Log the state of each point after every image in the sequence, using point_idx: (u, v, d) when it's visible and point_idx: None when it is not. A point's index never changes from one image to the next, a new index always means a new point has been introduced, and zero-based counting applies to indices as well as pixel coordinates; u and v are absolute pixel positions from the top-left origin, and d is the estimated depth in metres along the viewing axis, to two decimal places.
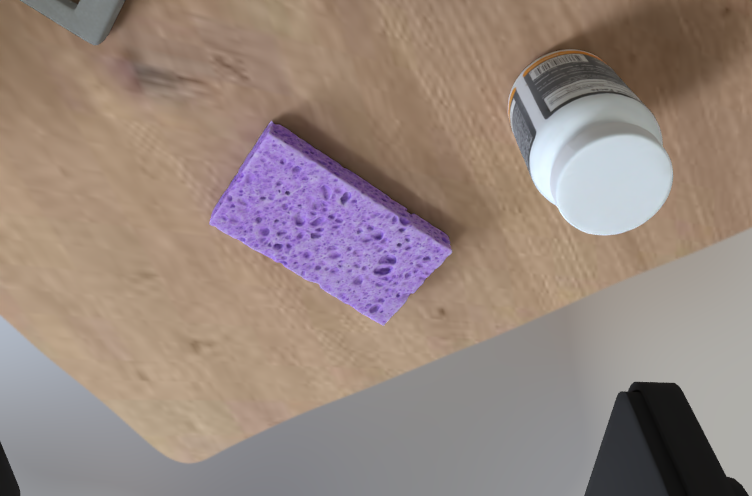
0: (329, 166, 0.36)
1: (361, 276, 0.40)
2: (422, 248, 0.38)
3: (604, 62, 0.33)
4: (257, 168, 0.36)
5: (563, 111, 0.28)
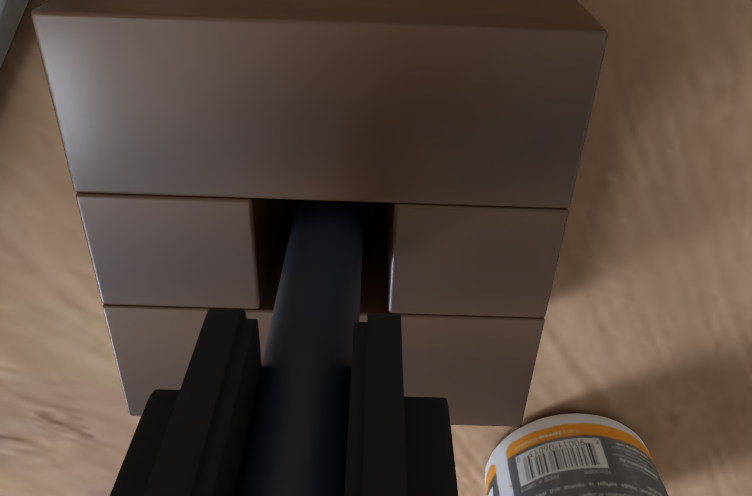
0: None
1: None
2: None
3: (632, 444, 0.21)
4: None
5: None
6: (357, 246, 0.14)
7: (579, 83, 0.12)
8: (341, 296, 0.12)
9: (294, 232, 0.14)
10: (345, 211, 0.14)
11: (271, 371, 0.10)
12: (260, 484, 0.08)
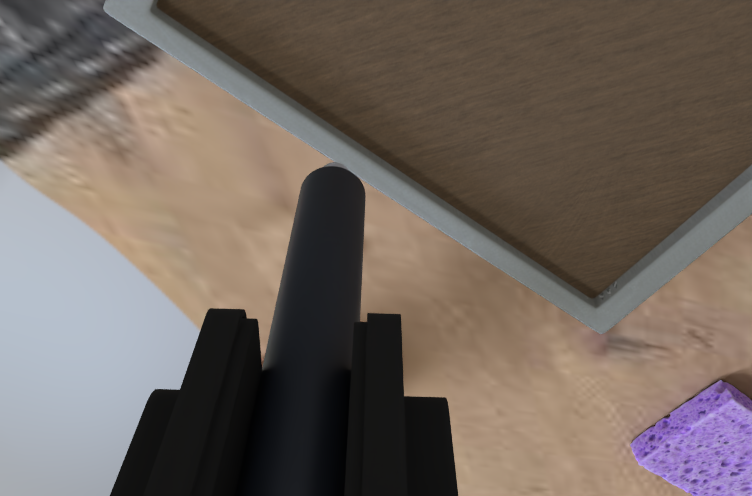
0: None
1: None
2: None
3: None
4: (707, 424, 0.38)
5: None
6: (357, 249, 0.14)
7: None
8: (342, 300, 0.12)
9: (295, 235, 0.14)
10: (345, 213, 0.14)
11: (272, 375, 0.10)
12: (261, 488, 0.08)
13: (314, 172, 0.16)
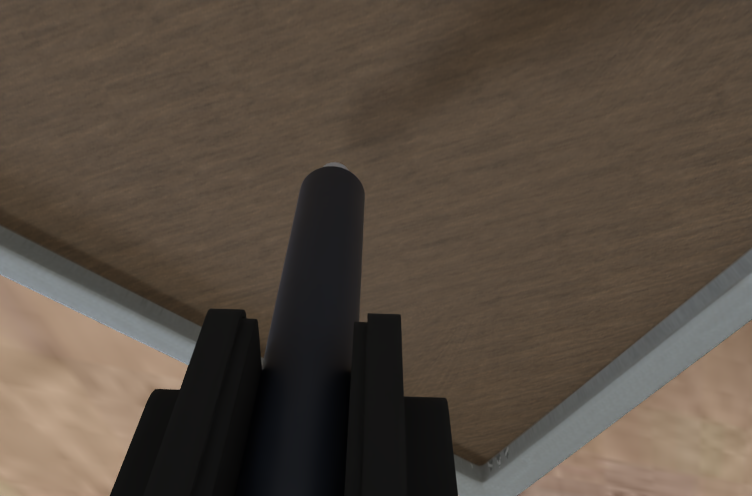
0: None
1: None
2: None
3: None
4: None
5: None
6: (357, 249, 0.14)
7: None
8: (341, 300, 0.12)
9: (294, 235, 0.14)
10: (345, 214, 0.14)
11: (271, 374, 0.10)
12: (260, 487, 0.08)
13: (314, 172, 0.16)
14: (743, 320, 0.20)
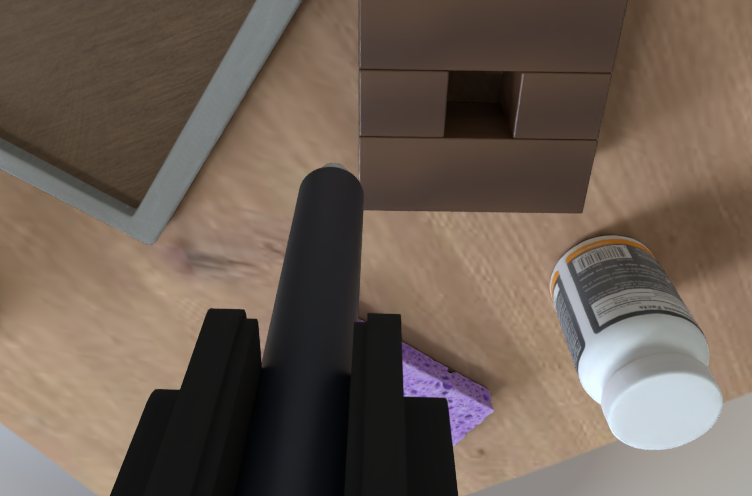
0: None
1: None
2: (464, 408, 0.39)
3: (646, 250, 0.33)
4: None
5: (613, 330, 0.29)
6: (356, 249, 0.14)
7: (618, 4, 0.24)
8: (340, 300, 0.12)
9: (293, 235, 0.14)
10: (344, 214, 0.14)
11: (270, 375, 0.10)
12: (258, 488, 0.08)
13: (313, 172, 0.16)
14: (262, 52, 0.28)
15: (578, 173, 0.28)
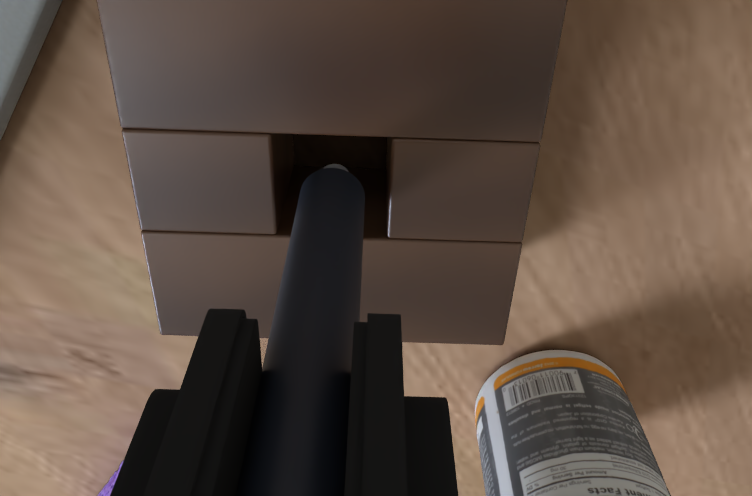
0: None
1: None
2: None
3: (607, 375, 0.23)
4: None
5: None
6: (357, 250, 0.14)
7: (546, 31, 0.14)
8: (342, 301, 0.12)
9: (294, 236, 0.14)
10: (345, 215, 0.14)
11: (272, 376, 0.10)
12: (260, 490, 0.08)
13: (314, 174, 0.16)
14: None
15: (493, 290, 0.18)
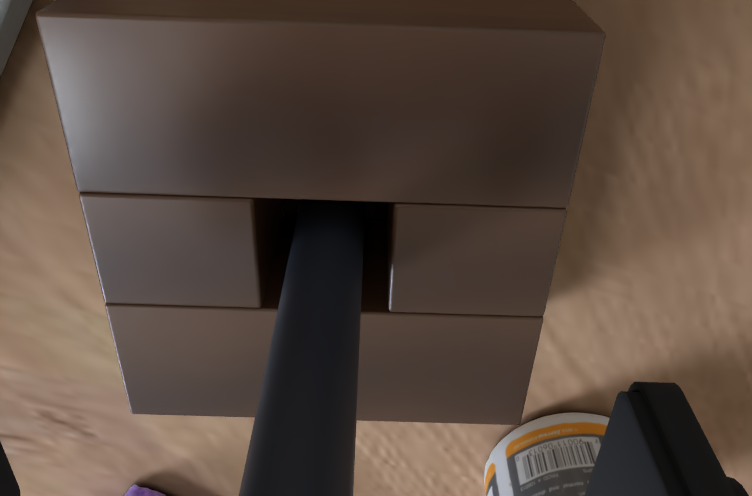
0: None
1: None
2: None
3: None
4: None
5: None
6: (358, 255, 0.14)
7: (577, 84, 0.12)
8: (343, 305, 0.12)
9: (296, 241, 0.14)
10: (346, 220, 0.15)
11: (274, 379, 0.10)
12: (264, 490, 0.09)
13: None
14: None
15: (510, 368, 0.16)
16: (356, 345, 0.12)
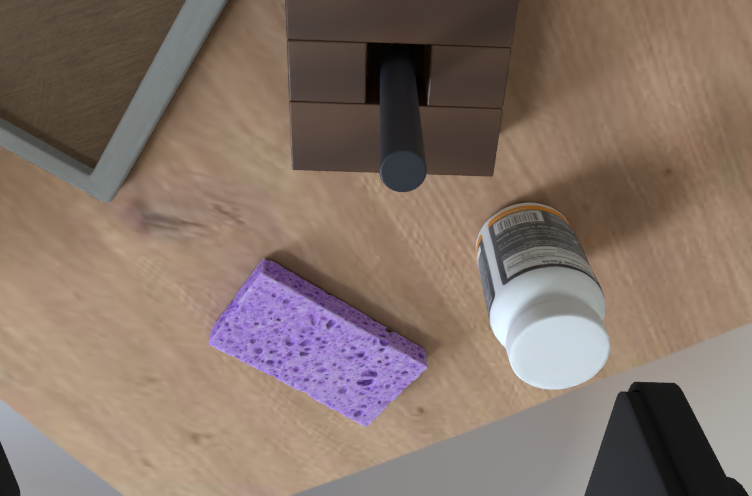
0: (316, 297, 0.40)
1: (345, 387, 0.44)
2: (400, 364, 0.42)
3: (559, 216, 0.37)
4: (251, 300, 0.40)
5: (517, 281, 0.32)
6: (414, 72, 0.30)
7: None
8: (411, 82, 0.28)
9: (384, 67, 0.30)
10: (407, 59, 0.30)
11: (387, 99, 0.26)
12: (392, 117, 0.24)
13: (388, 46, 0.32)
14: (204, 24, 0.31)
15: (486, 139, 0.31)
16: (417, 97, 0.27)
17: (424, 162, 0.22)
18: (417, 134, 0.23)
